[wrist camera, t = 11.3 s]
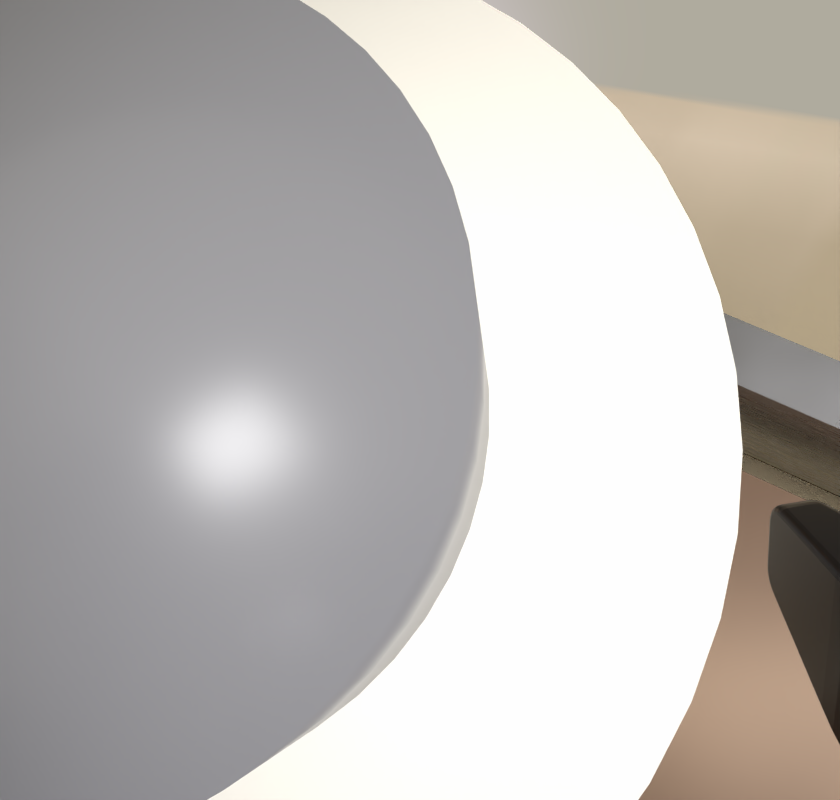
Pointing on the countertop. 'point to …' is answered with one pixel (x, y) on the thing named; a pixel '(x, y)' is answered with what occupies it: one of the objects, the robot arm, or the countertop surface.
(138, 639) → the bottle
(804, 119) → the countertop surface
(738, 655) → the shelf board
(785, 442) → the price rail
